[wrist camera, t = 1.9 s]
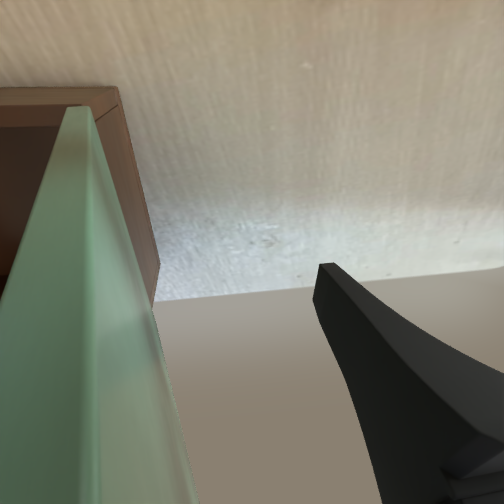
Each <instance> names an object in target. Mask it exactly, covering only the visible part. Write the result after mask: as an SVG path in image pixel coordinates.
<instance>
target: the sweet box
mask: <svg viewBox="0 0 504 504" xmlns="http://www.w3.org/2000/svg"><path fill="white" fill-rule="evenodd" d="M76 106H89V107H90V108H91V111H92V115H93V118H94V121H95V124H96V128H97V131H98V134H99V138H100V141H101V144H102V147H103V151H104V154H105V157H106V161H107V164H108V167H109V170H110V174H111V177H112V180H113V183H114V187H115V190H116V193H117V197H118V200H119V203H120V206H121V210H122V213H123V216H124V220H125V223H126V226H127V229H128V233H129V236H130V239H131V242H132V246H133V249H134V252H135V256H136V259H137V262H138V265H139V269H140V272H141V275H142V279H143V282H144V285H145V288H146V292H147V295H148V298H149V301H150V305H151V308H152V307H153V301H154V296H155V291H156V285H157V280H158V274H159V269H160V260H159V255H158V251H157V247H156V243H155V239H154V235H153V231H152V227H151V223H150V218H149V214H148V210H147V206H146V202H145V198H144V194H143V190H142V185H141V181H140V177H139V173H138V169H137V165H136V161H135V157H134V153H133V148H132V144H131V140H130V136H129V132H128V128H127V124H126V120H125V116H124V111H123V107H122V103H121V99H120V95H119V91H118V87H116V86H109V87H0V300H1V297H2V294H3V291H4V288H5V285H6V283H7V280H8V277H9V274H10V271H11V268H12V265H13V262H14V259H15V256H16V253H17V251H18V248H19V245H20V242H21V239H22V236H23V233H24V230H25V227H26V224H27V222H28V219H29V216H30V213H31V210H32V207H33V204H34V201H35V198H36V195H37V193H38V190H39V187H40V184H41V181H42V178H43V175H44V172H45V169H46V166H47V164H48V161H49V158H50V155H51V152H52V149H53V146H54V143H55V140H56V137H57V135H58V132H59V129H60V126H61V123H62V120H63V117H64V114H65V111H66V108H67V107H76Z"/></svg>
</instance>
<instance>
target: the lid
mask: <svg viewBox="0 0 504 504" xmlns="http://www.w3.org/2000/svg"><path fill="white" fill-rule="evenodd" d="M0 504H200V503H199V499H198V495H197V491H196V487H195V483H194V478H193V474H192V470H191V466H190V462H189V458H188V453H187V449H186V445H185V441H184V437H183V433H182V429H181V424H180V421H179V416H178V412H177V408H176V404H175V400H174V395H173V391H172V387H171V383H170V379H169V375H168V371H167V367H166V362H165V358H164V354H163V350H162V346H161V342H160V337H159V333H158V329H157V325H156V321H155V318H154V315H153V311H152V308H151V305H150V301H149V298H148V295H147V292H146V288H145V285H144V282H143V279H142V275H141V272H140V269H139V265H138V262H137V259H136V256H135V252H134V249H133V246H132V242H131V239H130V236H129V233H128V229H127V226H126V223H125V220H124V216H123V213H122V210H121V206H120V203H119V200H118V197H117V193H116V190H115V187H114V183H113V180H112V177H111V174H110V170H109V167H108V164H107V161H106V157H105V154H104V151H103V147H102V144H101V141H100V138H99V134H98V131H97V128H96V124H95V121H94V118H93V115H92V111H91V108H90V107H89V106H76V107H67V108H66V111H65V114H64V117H63V120H62V123H61V126H60V129H59V132H58V135H57V137H56V140H55V143H54V146H53V149H52V152H51V155H50V158H49V161H48V164H47V166H46V169H45V172H44V175H43V178H42V181H41V184H40V187H39V190H38V193H37V195H36V198H35V201H34V204H33V207H32V210H31V213H30V216H29V219H28V222H27V224H26V227H25V230H24V233H23V236H22V239H21V242H20V245H19V248H18V251H17V253H16V256H15V259H14V262H13V265H12V268H11V271H10V274H9V277H8V280H7V283H6V285H5V288H4V291H3V294H2V297H1V300H0Z"/></svg>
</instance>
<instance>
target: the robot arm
mask: <svg viewBox="0 0 504 504" xmlns="http://www.w3.org/2000/svg"><path fill="white" fill-rule="evenodd" d="M313 303H314V306H315V310H316V313H317V316H318V319H319V322H320V324H321V327H322V329H323V331H324V333H325V336H326V338H327V340H328V343H329V345H330V347H331V349H332V351H333V353H334V356H335V358H336V360H337V362H338V365H339V367H340V369H341V371H342V374H343V376H344V378H345V381H346V383H347V386H348V389H349V392H350V395H351V398H352V401H353V404H354V407H355V410H356V413H357V416H358V420H359V423H360V426H361V429H362V432H363V435H364V438H365V442H366V446H367V449H368V452H369V456H370V459H371V463H372V466H373V470H374V474H375V477H376V481H377V485H378V489H379V492H380V496H381V500H382V504H504V373H501V372H499V371H497V370H495V369H493V368H491V367H489V366H487V365H485V364H483V363H481V362H479V361H477V360H475V359H473V358H471V357H469V356H467V355H465V354H463V353H461V352H460V351H458V350H456V349H454V348H452V347H451V346H448V345H447V344H445V343H443V342H442V341H440V340H438V339H436V338H435V337H433V336H431V335H430V334H428V333H426V332H425V331H423V330H422V329H420V328H419V327H417V326H416V325H414V324H412V323H411V322H409V321H408V320H406V319H405V318H403V317H402V316H400V315H399V314H398V313H396V312H395V311H394V310H392V309H391V308H390V307H388V306H387V305H385V304H384V303H383V302H382V301H380V300H379V299H378V298H376V297H375V296H374V295H373V294H371V293H370V292H369V291H368V290H366V289H365V288H364V287H363V286H362V285H360V284H359V283H358V282H357V281H356V280H354V279H353V278H352V277H351V276H350V275H348V274H347V273H346V272H345V271H344V270H343V269H341V268H340V267H339V266H338V265H337V264H335V263H324V264H319V269H318V274H317V279H316V284H315V289H314V295H313Z"/></svg>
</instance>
